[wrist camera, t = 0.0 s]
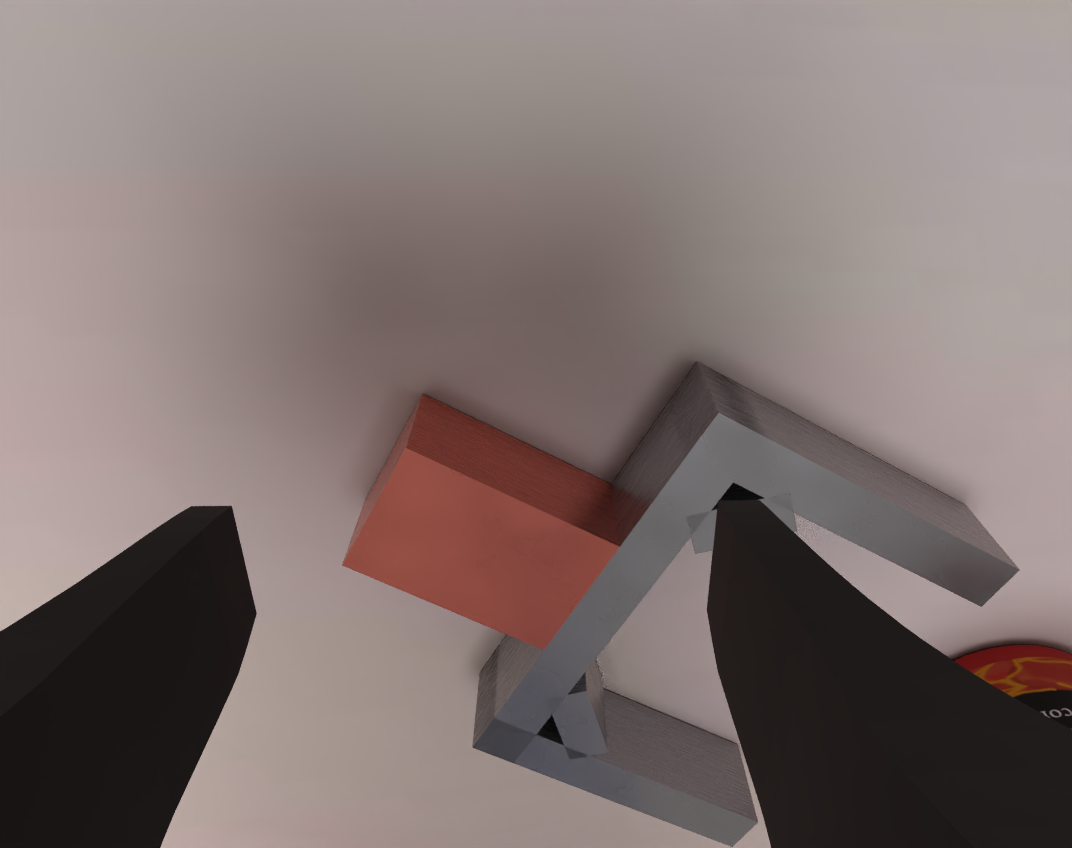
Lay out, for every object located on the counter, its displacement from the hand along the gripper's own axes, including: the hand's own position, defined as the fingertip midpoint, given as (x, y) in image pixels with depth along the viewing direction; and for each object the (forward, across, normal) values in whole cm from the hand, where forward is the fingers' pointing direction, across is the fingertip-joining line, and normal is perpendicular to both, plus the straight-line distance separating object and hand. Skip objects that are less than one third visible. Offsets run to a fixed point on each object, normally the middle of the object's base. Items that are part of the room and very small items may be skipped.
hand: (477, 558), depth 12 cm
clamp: (+10, -3, +8) cm, 13 cm away
